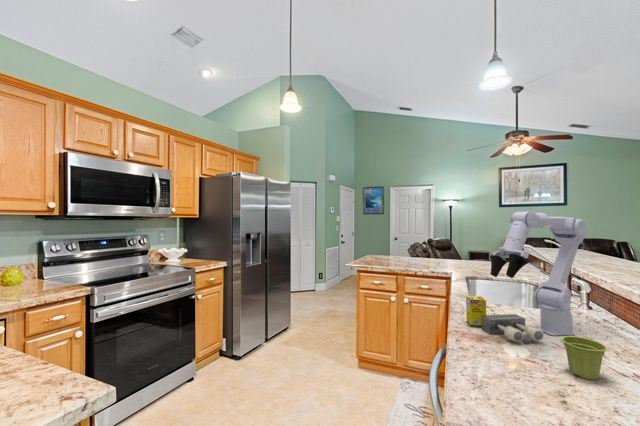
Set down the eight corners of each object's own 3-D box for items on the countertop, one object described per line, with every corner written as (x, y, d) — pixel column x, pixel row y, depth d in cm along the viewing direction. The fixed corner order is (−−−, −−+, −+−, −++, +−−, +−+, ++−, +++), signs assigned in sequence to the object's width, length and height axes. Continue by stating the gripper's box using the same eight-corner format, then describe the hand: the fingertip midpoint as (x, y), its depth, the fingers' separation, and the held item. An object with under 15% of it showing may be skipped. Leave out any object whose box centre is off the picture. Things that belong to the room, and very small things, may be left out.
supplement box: (486, 328, 118) (486, 300, 118) (470, 327, 119) (469, 299, 119) (481, 322, 124) (481, 296, 124) (466, 322, 125) (465, 295, 125)
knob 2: (520, 329, 114) (520, 318, 114) (544, 340, 103) (543, 328, 103) (510, 329, 113) (510, 318, 113) (533, 341, 103) (533, 329, 103)
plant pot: (596, 368, 86) (595, 338, 86) (615, 386, 77) (615, 352, 78) (556, 363, 89) (556, 334, 90) (571, 380, 81) (570, 347, 81)
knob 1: (501, 330, 113) (501, 319, 113) (523, 342, 103) (523, 329, 103) (491, 330, 113) (491, 319, 113) (512, 342, 102) (512, 330, 102)
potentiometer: (523, 340, 106) (522, 330, 106) (531, 343, 104) (531, 332, 104) (516, 342, 105) (516, 331, 105) (525, 345, 102) (525, 334, 102)
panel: (515, 328, 118) (515, 313, 118) (525, 332, 113) (525, 318, 113) (481, 329, 117) (481, 315, 117) (490, 334, 112) (490, 319, 112)
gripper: (491, 237, 114) (477, 269, 111) (521, 234, 100) (506, 271, 97) (507, 247, 114) (494, 279, 112) (539, 244, 100) (525, 281, 97)
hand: (501, 276), depth 104 cm, fingers open, 7 cm apart
